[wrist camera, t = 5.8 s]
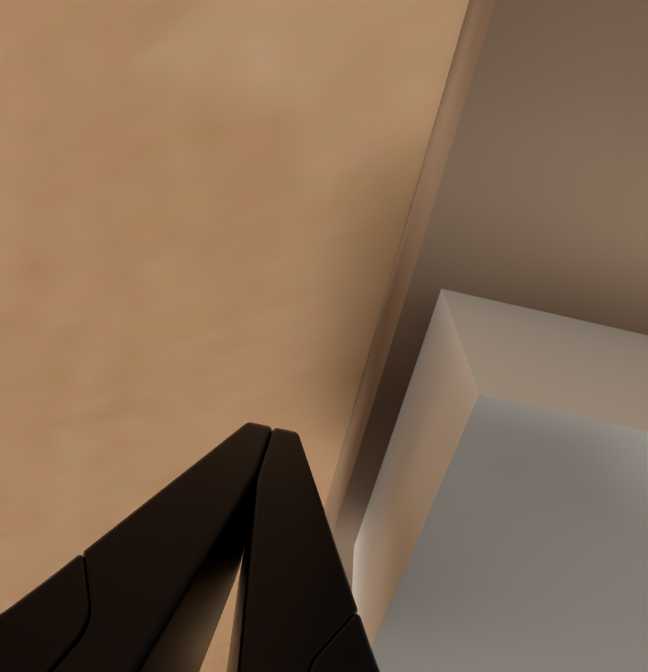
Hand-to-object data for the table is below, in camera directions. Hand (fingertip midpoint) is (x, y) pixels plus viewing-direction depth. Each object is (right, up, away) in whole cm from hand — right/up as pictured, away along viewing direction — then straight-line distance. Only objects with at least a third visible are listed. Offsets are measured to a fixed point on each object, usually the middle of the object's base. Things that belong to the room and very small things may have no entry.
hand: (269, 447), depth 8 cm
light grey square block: (+5, -1, +1) cm, 5 cm away
